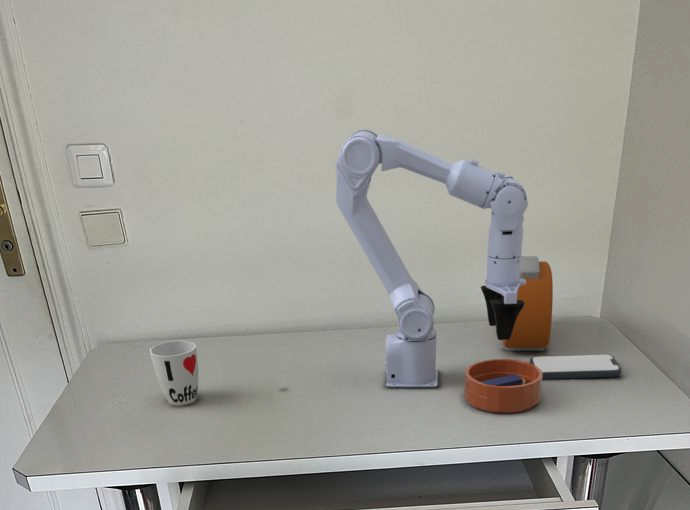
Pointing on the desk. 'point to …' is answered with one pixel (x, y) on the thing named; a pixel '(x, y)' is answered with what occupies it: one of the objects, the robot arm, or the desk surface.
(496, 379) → the pencil
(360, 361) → the desk surface
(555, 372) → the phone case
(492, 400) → the bowl
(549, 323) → the alarm clock
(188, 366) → the cup
